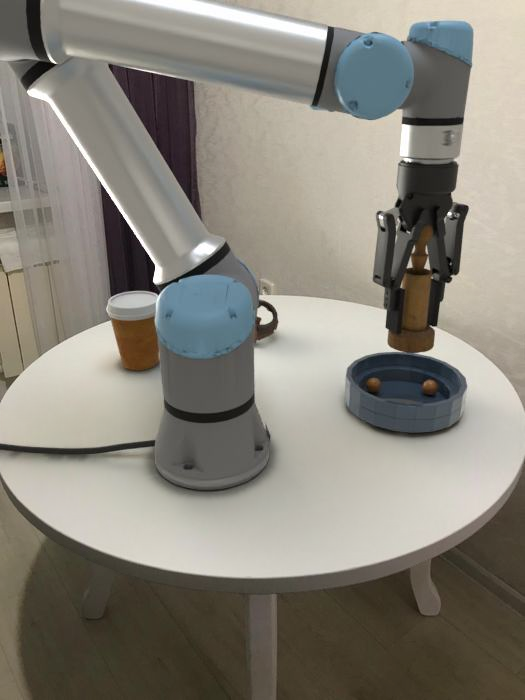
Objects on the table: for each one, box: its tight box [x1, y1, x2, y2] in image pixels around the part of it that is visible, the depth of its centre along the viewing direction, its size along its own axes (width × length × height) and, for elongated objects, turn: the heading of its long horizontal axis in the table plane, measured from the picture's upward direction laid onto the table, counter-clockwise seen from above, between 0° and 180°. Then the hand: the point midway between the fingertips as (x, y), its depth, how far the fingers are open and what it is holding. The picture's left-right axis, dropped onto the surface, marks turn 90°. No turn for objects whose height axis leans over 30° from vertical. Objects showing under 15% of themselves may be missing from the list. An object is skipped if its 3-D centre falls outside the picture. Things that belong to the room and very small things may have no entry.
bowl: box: [344, 351, 468, 434], centre depth 90 cm, size 18×18×5 cm
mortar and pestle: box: [386, 225, 436, 354], centre depth 82 cm, size 7×6×18 cm
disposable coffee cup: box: [105, 290, 160, 371], centre depth 102 cm, size 10×10×12 cm
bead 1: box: [366, 378, 381, 393], centre depth 92 cm, size 2×2×2 cm
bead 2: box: [422, 380, 438, 395], centre depth 92 cm, size 2×2×2 cm
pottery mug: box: [254, 298, 279, 344], centre depth 114 cm, size 12×10×8 cm
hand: (411, 326), depth 85 cm, fingers closed on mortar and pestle, 6 cm apart
